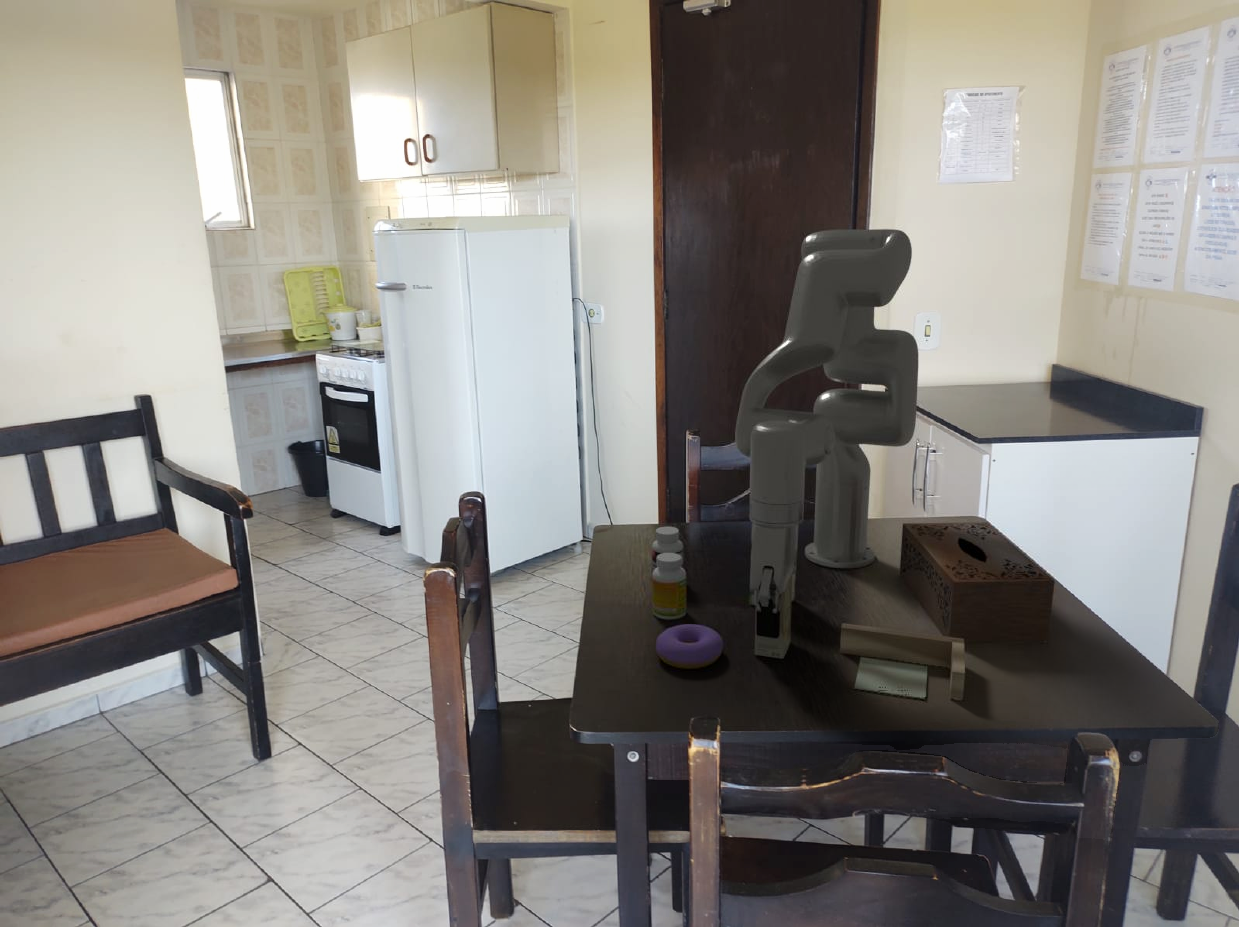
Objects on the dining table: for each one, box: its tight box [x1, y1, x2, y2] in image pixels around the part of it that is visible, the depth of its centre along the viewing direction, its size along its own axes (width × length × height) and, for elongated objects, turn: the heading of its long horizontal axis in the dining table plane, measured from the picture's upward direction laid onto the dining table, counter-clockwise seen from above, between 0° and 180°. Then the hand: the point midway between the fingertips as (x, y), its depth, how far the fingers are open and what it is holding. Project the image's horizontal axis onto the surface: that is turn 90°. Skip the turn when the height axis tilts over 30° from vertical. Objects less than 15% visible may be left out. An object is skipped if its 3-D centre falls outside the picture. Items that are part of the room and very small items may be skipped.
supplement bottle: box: [651, 553, 687, 621], centre depth 140 cm, size 5×5×10 cm
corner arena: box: [839, 622, 966, 700], centre depth 120 cm, size 12×16×4 cm
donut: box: [655, 623, 724, 670], centre depth 127 cm, size 10×9×5 cm
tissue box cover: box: [898, 521, 1056, 644], centre depth 140 cm, size 26×14×10 cm, turn 178°
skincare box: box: [754, 574, 792, 659], centre depth 127 cm, size 6×4×12 cm
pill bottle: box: [651, 526, 684, 582], centre depth 152 cm, size 5×5×10 cm
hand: (773, 623), depth 128 cm, fingers open, 7 cm apart
